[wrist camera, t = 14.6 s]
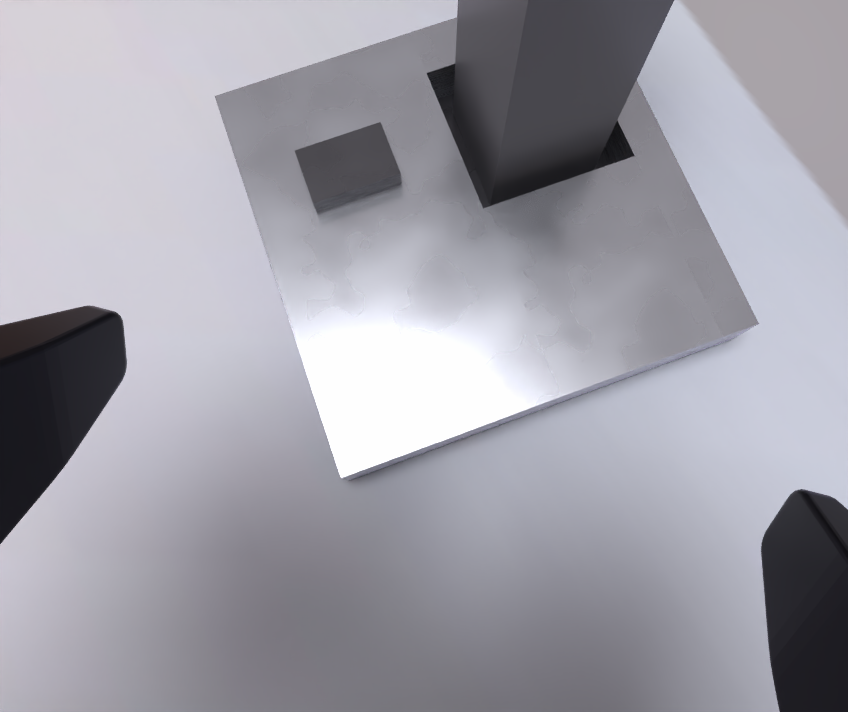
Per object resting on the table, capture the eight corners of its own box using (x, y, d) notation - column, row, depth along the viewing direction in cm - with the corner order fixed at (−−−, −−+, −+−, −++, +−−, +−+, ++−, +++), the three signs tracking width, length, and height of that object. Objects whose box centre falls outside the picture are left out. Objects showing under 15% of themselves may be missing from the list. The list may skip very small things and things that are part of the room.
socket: (349, 480, 22) (337, 476, 19) (232, 128, 25) (206, 81, 22) (730, 339, 23) (771, 316, 20) (572, 16, 26) (589, -43, 23)
